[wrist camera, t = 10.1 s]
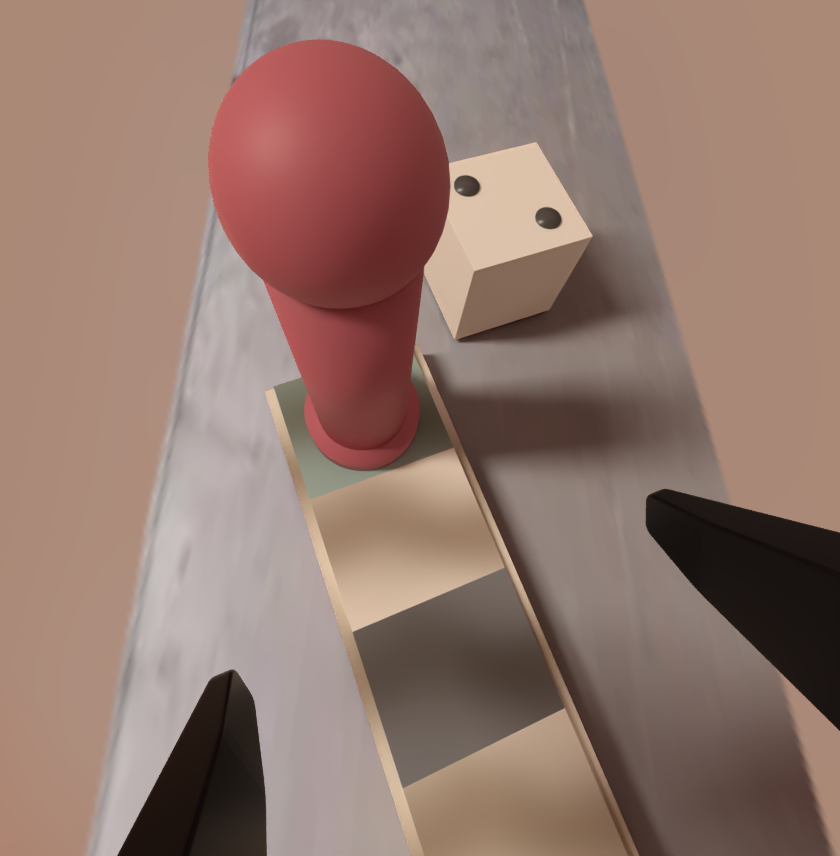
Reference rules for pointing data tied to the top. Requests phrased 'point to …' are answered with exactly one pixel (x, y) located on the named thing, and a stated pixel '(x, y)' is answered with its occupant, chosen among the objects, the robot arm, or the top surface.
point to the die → (504, 241)
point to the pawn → (337, 229)
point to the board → (448, 649)
